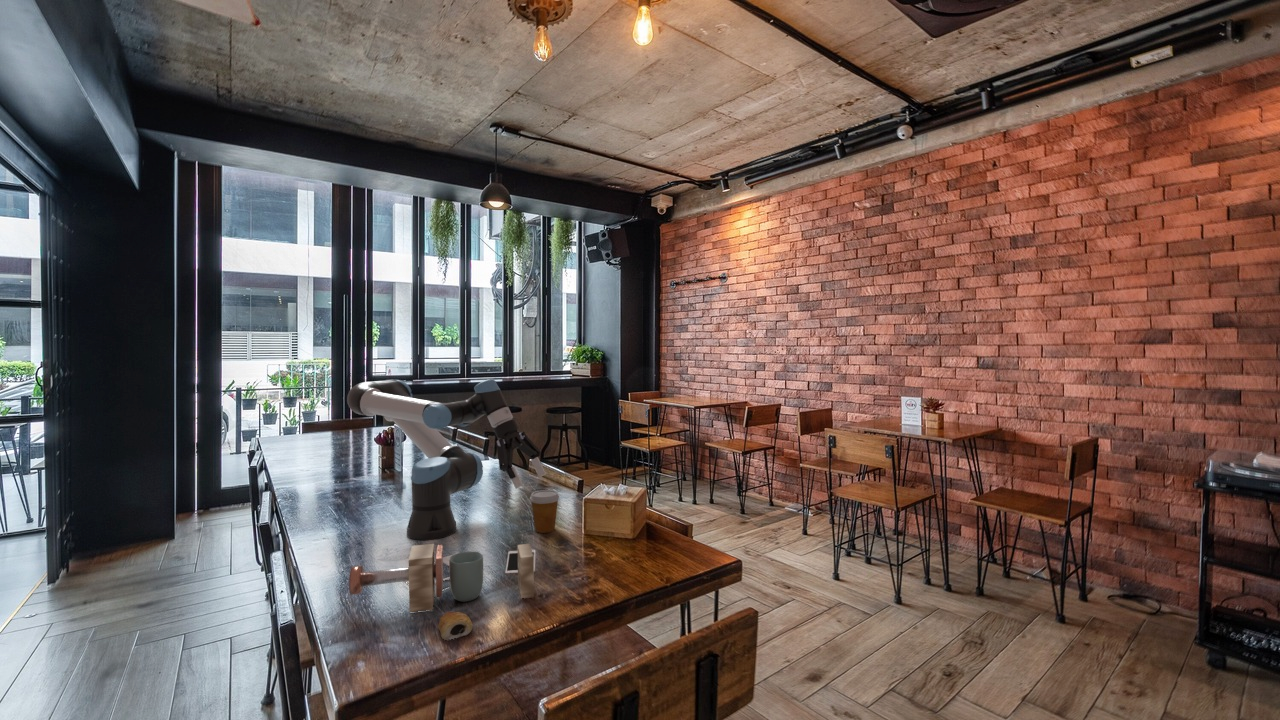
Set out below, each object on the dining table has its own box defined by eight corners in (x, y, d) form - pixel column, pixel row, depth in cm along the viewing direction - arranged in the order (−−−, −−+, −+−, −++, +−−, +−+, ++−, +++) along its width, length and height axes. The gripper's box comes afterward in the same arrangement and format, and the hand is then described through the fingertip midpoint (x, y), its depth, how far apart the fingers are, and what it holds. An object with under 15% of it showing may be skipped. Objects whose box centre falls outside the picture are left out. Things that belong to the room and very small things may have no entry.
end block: (521, 598, 136) (520, 557, 136) (518, 583, 145) (517, 544, 145) (534, 597, 137) (533, 556, 137) (529, 582, 146) (529, 543, 146)
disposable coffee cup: (562, 525, 191) (562, 490, 190) (555, 535, 181) (555, 497, 181) (534, 524, 192) (534, 489, 191) (526, 534, 182) (526, 497, 182)
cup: (452, 608, 132) (452, 565, 131) (447, 595, 139) (446, 554, 138) (486, 601, 135) (486, 559, 135) (479, 588, 142) (479, 549, 142)
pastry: (433, 624, 125) (433, 607, 125) (465, 617, 128) (465, 600, 128) (442, 644, 117) (442, 625, 117) (475, 635, 120) (475, 617, 120)
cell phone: (535, 551, 168) (535, 549, 168) (534, 573, 153) (534, 570, 153) (508, 553, 167) (508, 551, 167) (505, 575, 151) (505, 573, 151)
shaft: (348, 609, 125) (347, 568, 125) (355, 591, 134) (354, 554, 134) (441, 596, 131) (441, 558, 131) (443, 581, 140) (442, 544, 139)
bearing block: (409, 614, 129) (408, 559, 129) (413, 596, 138) (412, 545, 137) (432, 610, 130) (432, 557, 130) (434, 593, 139) (434, 543, 139)
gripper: (487, 425, 176) (517, 487, 173) (532, 412, 199) (559, 467, 196) (471, 435, 178) (500, 496, 176) (517, 421, 201) (543, 476, 199)
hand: (531, 481), depth 186 cm, fingers open, 13 cm apart
